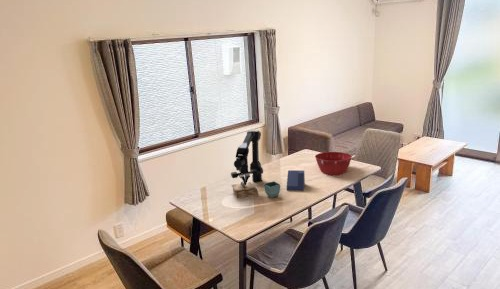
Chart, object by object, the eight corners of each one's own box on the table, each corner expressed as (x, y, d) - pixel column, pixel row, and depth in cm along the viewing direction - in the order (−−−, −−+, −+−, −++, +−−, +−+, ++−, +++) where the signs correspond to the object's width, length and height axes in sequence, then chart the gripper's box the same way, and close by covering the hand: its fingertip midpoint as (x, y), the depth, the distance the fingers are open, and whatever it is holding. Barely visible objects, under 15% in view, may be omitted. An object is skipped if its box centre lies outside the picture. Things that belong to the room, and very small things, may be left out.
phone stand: (286, 191, 262) (286, 175, 259) (288, 185, 273) (288, 170, 270) (303, 191, 259) (303, 175, 256) (304, 185, 270) (304, 170, 268)
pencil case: (253, 189, 271) (252, 183, 270) (257, 194, 258) (257, 189, 257) (233, 191, 267) (232, 186, 266) (237, 198, 255) (236, 192, 254)
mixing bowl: (327, 167, 312) (327, 149, 309) (358, 172, 292) (358, 154, 289) (308, 175, 293) (308, 157, 289) (340, 182, 273) (339, 162, 269)
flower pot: (270, 199, 248) (269, 187, 246) (263, 195, 256) (263, 183, 254) (281, 196, 252) (280, 184, 250) (274, 193, 260) (273, 181, 258)
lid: (250, 183, 269) (250, 179, 268) (255, 188, 257) (254, 184, 256) (231, 185, 266) (231, 182, 265) (235, 191, 254) (234, 187, 253)
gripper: (253, 159, 268) (254, 179, 271) (228, 162, 263) (230, 183, 267) (257, 163, 257) (258, 184, 260) (231, 166, 253) (233, 188, 256)
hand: (245, 184), depth 261 cm, fingers closed
